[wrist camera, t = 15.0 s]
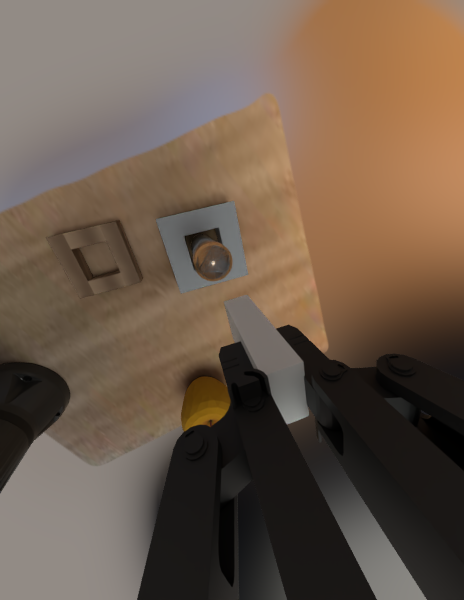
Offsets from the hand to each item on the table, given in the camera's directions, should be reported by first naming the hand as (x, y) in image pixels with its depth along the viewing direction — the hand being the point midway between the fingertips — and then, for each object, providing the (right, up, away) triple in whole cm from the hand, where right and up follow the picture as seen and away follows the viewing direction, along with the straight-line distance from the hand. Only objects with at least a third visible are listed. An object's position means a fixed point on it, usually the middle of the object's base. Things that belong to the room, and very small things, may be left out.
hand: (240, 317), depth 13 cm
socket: (-6, +11, +26) cm, 28 cm away
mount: (-22, +8, +23) cm, 33 cm away
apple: (-7, -19, +37) cm, 42 cm away
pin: (-6, +11, +25) cm, 28 cm away
